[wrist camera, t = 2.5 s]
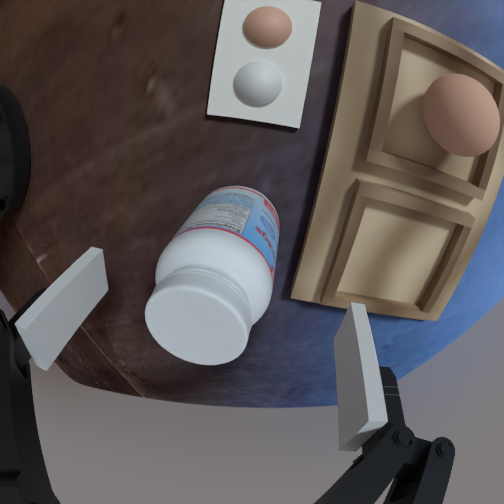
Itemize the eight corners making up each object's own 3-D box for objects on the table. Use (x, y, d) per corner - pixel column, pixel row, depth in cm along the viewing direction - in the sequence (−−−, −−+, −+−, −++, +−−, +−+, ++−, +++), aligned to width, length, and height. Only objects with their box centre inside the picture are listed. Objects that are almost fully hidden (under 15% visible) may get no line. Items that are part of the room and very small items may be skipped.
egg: (403, 133, 16) (437, 148, 11) (417, 62, 13) (455, 57, 9) (462, 157, 16) (503, 179, 11) (477, 92, 13) (521, 98, 9)
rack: (290, 289, 24) (290, 306, 22) (352, 5, 13) (359, -5, 11) (432, 312, 24) (439, 328, 22) (513, 83, 12) (530, 85, 10)
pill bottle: (277, 260, 23) (263, 382, 13) (200, 254, 24) (145, 363, 14) (282, 184, 20) (271, 281, 10) (196, 180, 20) (115, 265, 11)
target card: (208, 114, 18) (206, 114, 17) (227, -7, 13) (226, -10, 13) (299, 127, 18) (299, 128, 17) (320, 4, 13) (321, 1, 13)
